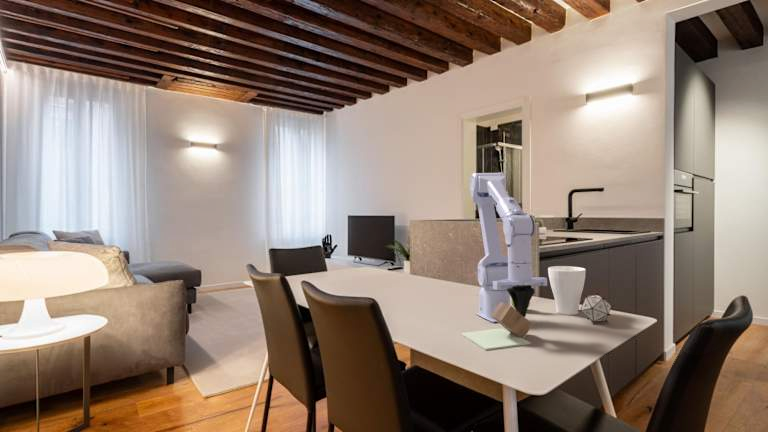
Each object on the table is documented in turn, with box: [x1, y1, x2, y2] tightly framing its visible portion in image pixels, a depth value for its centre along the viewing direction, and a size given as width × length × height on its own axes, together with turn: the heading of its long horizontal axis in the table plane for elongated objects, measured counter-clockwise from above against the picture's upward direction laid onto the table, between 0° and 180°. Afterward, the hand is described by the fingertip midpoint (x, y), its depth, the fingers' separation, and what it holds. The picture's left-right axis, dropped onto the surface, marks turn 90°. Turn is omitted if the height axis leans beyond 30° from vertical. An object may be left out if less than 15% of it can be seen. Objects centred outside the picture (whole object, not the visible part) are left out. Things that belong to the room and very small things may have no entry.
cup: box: [547, 265, 587, 316], centre depth 118 cm, size 10×10×14 cm
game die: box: [578, 292, 615, 325], centre depth 107 cm, size 9×8×10 cm
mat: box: [460, 327, 532, 351], centre depth 95 cm, size 12×12×1 cm
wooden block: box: [491, 302, 534, 340], centre depth 97 cm, size 4×4×8 cm
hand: (521, 316), depth 97 cm, fingers closed
